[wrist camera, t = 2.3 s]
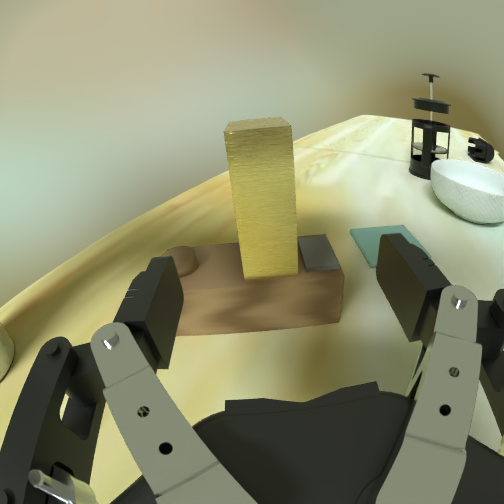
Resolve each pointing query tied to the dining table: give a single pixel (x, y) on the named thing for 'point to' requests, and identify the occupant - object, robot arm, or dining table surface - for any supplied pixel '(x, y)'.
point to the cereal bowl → (469, 190)
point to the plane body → (256, 290)
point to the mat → (371, 239)
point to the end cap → (480, 150)
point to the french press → (428, 135)
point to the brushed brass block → (264, 196)
